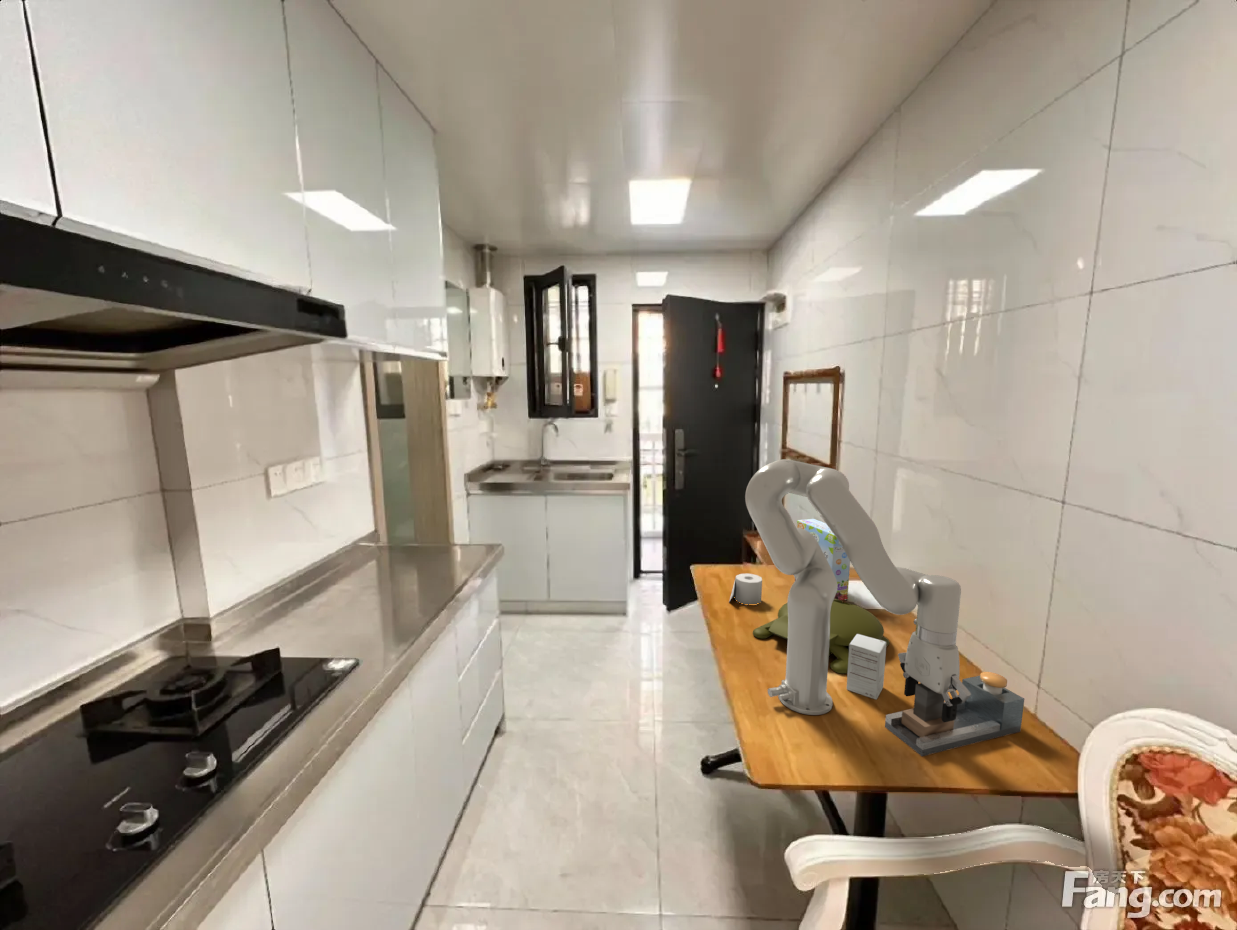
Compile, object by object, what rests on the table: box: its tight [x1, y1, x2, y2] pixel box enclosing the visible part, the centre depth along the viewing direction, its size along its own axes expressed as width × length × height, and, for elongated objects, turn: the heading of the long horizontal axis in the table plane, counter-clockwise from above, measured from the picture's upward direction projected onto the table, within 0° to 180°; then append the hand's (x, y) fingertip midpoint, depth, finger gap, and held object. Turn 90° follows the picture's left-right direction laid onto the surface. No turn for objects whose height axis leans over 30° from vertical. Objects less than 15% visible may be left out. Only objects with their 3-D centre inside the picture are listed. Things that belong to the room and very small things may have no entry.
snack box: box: [794, 518, 851, 601], centre depth 197 cm, size 22×9×26 cm, turn 17°
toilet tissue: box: [728, 573, 763, 605], centre depth 187 cm, size 9×13×9 cm
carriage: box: [901, 682, 954, 738], centre depth 114 cm, size 8×6×10 cm
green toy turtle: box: [752, 599, 890, 675], centre depth 161 cm, size 35×31×10 cm
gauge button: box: [979, 671, 1008, 695], centre depth 120 cm, size 5×5×8 cm
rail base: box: [884, 675, 1025, 757], centre depth 117 cm, size 28×10×8 cm, turn 107°
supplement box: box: [846, 634, 887, 700], centre depth 132 cm, size 7×7×13 cm
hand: (928, 707), depth 114 cm, fingers open, 9 cm apart
